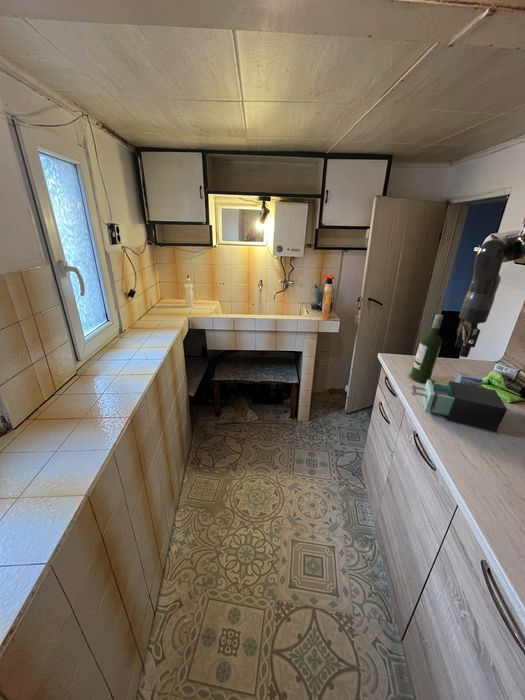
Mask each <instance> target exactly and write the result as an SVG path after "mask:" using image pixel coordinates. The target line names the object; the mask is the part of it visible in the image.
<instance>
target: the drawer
mask: <svg viewBox="0 0 525 700" xmlns="http://www.w3.org/2000/svg"><path fill="white" fill-rule="evenodd" d="M410 389H411V395H412V396H416V395H417V396H421V397H422V398H421V399H422V403H423V411H424V413H429V412H430V409H431V412H432V413H435V414H438V415H439V414H440V415H444V416H446V415H447V416H448V415H449V412H450V409H451V407H452V404H453V402H454V399H455V398H454V395H453V393H452V390H451V387H450V385H448V384H446V383H441V382H436V381H435V382H434V384H433V382H432V380H431V379H430V380H427V383H425V386H424V388H423V387H419V386H416V385H415V384H412V385H410ZM417 390H418V391H419V390H420V391H423V392H422V393H421V392H417ZM434 390H436V391H441V392H445V393H448V395H449V396H444V395H440V394H438V396H437V399H436V402H435V405H434V406H432V401H433V398H434V396H435V394H434Z"/></svg>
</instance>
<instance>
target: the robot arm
mask: <svg viewBox="0 0 525 700" xmlns="http://www.w3.org/2000/svg"><path fill="white" fill-rule="evenodd" d="M521 259H525V233H523V234H519V235H515V236H511V237H506V238H501V239H500V238H493V239H489V240H487V241H486V242H484V243H483V244H481V245H480V247H479V248H478V250H477V253H476V255H475V259H474V265H473V266H474V267H473V276H472V278H471V281H470V285H469V288H468V290H467V292H466V295H465V297H464V300H463V302H462V305H461V308H460V312H459V315H458V318H459V319H460V321H459V324H458V327H457V330H456V340H455V343H454V347H455V348H458V349H461V350H460V352H459V357H461V358H468V357H469V354H470V352H471V349H472V348H475V347H476V344H477V342H478V339H479V336H480V333H481V329H479V328H478V326H479V324H484V323H486V322H487V321H488V319H489V318H488V317H489V315H490V313H491V310H492V307H493V304H494V301H495V299H496V294H497V291H498V288H499V286H500V283H501V278H502V277H501V275H500V271H501V268H502V265H503V264H504V263H508V262H513V261H517V260H521Z"/></svg>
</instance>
